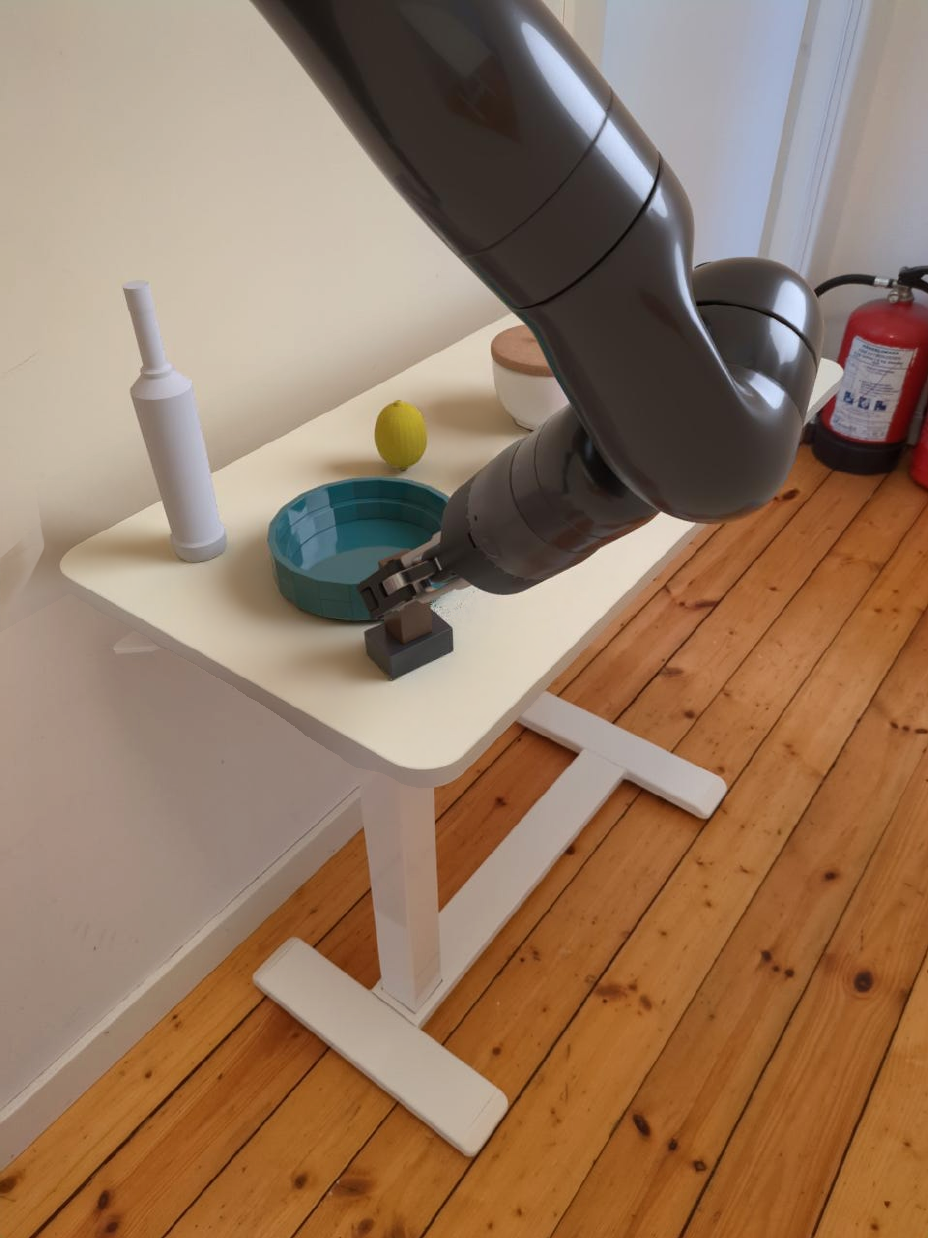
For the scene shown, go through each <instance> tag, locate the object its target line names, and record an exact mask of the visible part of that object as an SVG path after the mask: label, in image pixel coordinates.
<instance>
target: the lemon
mask: <svg viewBox="0 0 928 1238" xmlns="http://www.w3.org/2000/svg"><path fill="white" fill-rule="evenodd" d="M374 443H375V447H376V450H377V453H378V455H379V456H380V458H381V459H382V460H383V461H384V462H385V463H386V464H388V465H390V466H391V467H394V468H398V469H399V470H401V471H406V470H407V469H408V468H410V467H412V466H414V465H416V464H417V463H418V462H419V461H420V460H421V459H422V458H423V457H424V454H425V452H426V449H427V445H428V432H427V426H426V422H425V419H424V417H423V414H422V413H421V411H419V409H418V408H417V407H415V406H414V405H413V404H411V403H408V402H405V401H402V399H397V400H395V401H394V402H390V403H389V404H387V405H386V406H384V407H383V408H382V409H381V410H380V412H379V413H378V415H377V417H376V421H375V425H374Z"/></svg>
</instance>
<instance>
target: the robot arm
mask: <svg viewBox="0 0 928 1238" xmlns="http://www.w3.org/2000/svg"><path fill="white" fill-rule="evenodd" d="M248 1H249V2H250V3H251V4H252V6H253V7H254V9H256V11H257V12H258V13H259V14H260V16H261V17H262V18H263V19H264V20H265V22H266V24H268V26H269V27H270V28H271V30H272V31H273V32H274V33H275V34H276V36H277V37H278V38H279V39H280V41H281V42H282V43H283V44H284V46H285V47H286V49H287V50H288V51H289V53H290V54H291V55H292V56H293V58H294V59H295V60H296V62H297V63H298V64H299V66H300V67H301V68H302V69H303V71H304V72H305V74H306V75H307V76H308V77H309V79H310V80H311V81H312V82H313V84H314V85H315V87H316V88H317V89H318V91H319V92H320V93H321V95H322V96H323V98H324V99H325V100H326V102H327V103H328V104H329V105H330V107H331V108H332V110H333V111H334V112H335V114H336V115H337V117H338V118H339V119H340V121H341V122H342V123H343V125H344V126H345V128H346V129H347V131H348V132H349V133H350V135H351V136H352V137H353V138H354V139H355V141H356V142H357V144H358V145H359V146H360V148H361V149H362V150H363V152H364V153H365V154H366V156H367V157H368V158H369V160H370V161H371V162H372V164H374V166H375V167H376V168H377V170H378V171H379V172H380V173H381V174H382V176H383V177H384V179H385V180H386V181H387V182H388V183H389V185H390V186H391V187H392V188H393V189H394V191H395V192H396V193H397V195H399V196H400V198H401V199H402V200H403V201H404V202H405V203H406V204H407V206H408V208H410V209H411V211H413V212H414V214H415V215H416V216H417V217H418V218H419V219H420V221H422V223H424V224H425V226H426V227H427V228H428V229H429V230H430V231H431V232H432V233H433V234H434V235H435V236H436V237H437V239H439V240H440V241H441V243H443V244H444V245H445V246H446V248H448V250H450V252H451V253H452V254H453V255H455V256H456V258H457V259H458V260H460V261H461V262H462V264H463V265H465V267H466V268H467V269H468V270H469V271H470V272H471V273H472V274H473V275H474V276H476V278H477V279H478V280H479V281H481V283H483V285H484V286H486V288H487V289H488V290H489V291H490V292H491V293H492V294H493V295H494V296H495V297H496V298H497V299H498V300H499V301H500V302H501V303H502V304H503V305H505V306H506V308H507V309H508V310H509V311H510V312H511V313H512V314H513V315H515V316H516V317H517V318H518V319H519V320H520V321H521V322H522V323H523V325H524V324H525V325H526V326H527V327H528V328H529V330H530V331H531V332H532V334H533V336H534V338H535V339H536V341H537V343H538V345H539V347H540V349H541V351H542V353H543V355H544V357H545V359H546V361H547V363H548V365H549V367H550V369H551V371H552V373H553V375H554V377H555V379H556V381H557V382H558V384H559V386H560V387H561V389H562V390H563V392H564V394H565V395H566V397H567V399H568V401H569V404H568V405H566V406H565V407H563V408H562V409H561V410H559V411H558V412H556V413H555V414H554V415H552V416H551V417H550V418H549V419H548V420H546V421H545V422H544V423H543V424H542V425H540V426H539V427H538V428H537V429H535V430H532V432H530V433H529V434H527V435H526V436H524V437H522V438H520V439H518V440H516V441H515V442H512V444H509V446H506V448H504V449H503V450H502V451H500V452H499V453H498V454H497V455H496V456H494V457H493V458H492V459H491V460H490V461H489V462H487V463H486V464H485V465H484V466H483V467H481V468H480V469H479V470H478V471H477V472H475V473H474V474H473V475H472V476H471V477H470V478H468V480H466V481H465V482H463V483H462V484H461V485H460V486H459V487H458V488H457V489H456V490H455V491H454V492H452V494H451V495H450V496H449V497H450V499H449V501H448V502H447V504H446V507H445V509H444V512H443V517H442V524H441V531H439V532H437V533H436V534H434V535H433V537H432V540H431V541H429V542H427V543H425V544H424V545H422V546H420V547H418V548H416V549H414V550H413V551H411V552H409V553H407V554H405V555H403V556H402V557H401V558H400V559H397V560H395V559H392V560H390V561H388V562H387V564H386V565H384V566H383V567H382V568H380V569H379V570H377V571H376V572H375V573H373V574H372V575H371V576H369V577H368V578H367V579H365V580H363V581H361V582H360V584H359V585H357V586H356V588H357V590H358V592H359V593H360V595H361V597H362V599H363V601H364V604H365V606H366V608H367V610H368V612H369V616H370V618H371V620H370V621H374V620H377V621H379V620H382V619H381V618H383V617H385V616H387V615H390V614H392V613H393V612H395V611H396V610H397V611H401V610H403V609H404V606H406V605H408V604H410V603H412V602H414V601H416V600H417V601H418V602H420V603H422V604H424V603H427V602H430V601H432V600H434V601H436V600H438V599H440V598H441V597H443V596H445V595H447V594H449V593H451V592H453V591H455V590H457V591H461V590H464V589H466V588H469V587H471V586H473V587H474V588H476V589H478V590H480V591H483V592H486V593H488V594H493V595H497V596H498V595H499V596H510V595H517V594H520V593H522V592H525V591H527V590H529V589H531V588H534V587H535V586H537V585H539V584H541V583H543V582H545V581H548V580H549V579H551V578H553V577H556V576H557V575H559V574H561V573H564V572H566V571H567V570H570V569H571V568H573V567H575V566H578V565H579V564H581V563H582V562H585V561H586V560H588V559H589V558H590V557H592V556H593V555H594V554H595V553H597V552H598V551H599V550H600V549H602V548H603V547H606V546H608V545H609V544H611V543H613V542H615V541H618V540H619V539H622V538H623V537H625V536H627V535H629V534H631V533H633V532H635V531H637V530H638V529H640V528H642V527H643V526H645V525H648V524H649V523H650V522H651V521H653V520H654V519H655V518H656V517H657V516H658V515H659V514H660V513H663V514H665V515H667V516H670V517H672V518H675V519H677V520H681V521H684V522H688V523H695V524H702V525H723V524H729V523H733V522H737V521H741V520H744V519H747V518H749V517H750V516H753V515H754V514H756V513H757V512H759V511H761V510H763V509H764V508H765V507H766V506H767V505H769V504H770V503H771V502H772V501H773V500H774V499H775V498H776V497H777V496H778V494H779V493H780V492H781V490H782V489H783V487H784V486H785V483H786V482H787V480H788V478H789V476H790V473H791V472H792V469H793V467H794V464H795V460H796V457H797V453H798V449H799V446H800V442H801V438H802V432H803V429H804V426H805V421H806V417H807V413H808V411H809V410H808V409H809V406H810V402H811V398H812V395H813V390H814V386H815V383H816V379H817V376H818V373H819V368H820V364H821V360H822V355H823V351H824V344H825V320H824V319H825V318H824V314H823V310H822V306H821V303H820V301H819V298H818V296H817V294H816V292H815V290H814V289H813V288H812V286H811V285H810V284H809V283H808V281H806V279H804V278H803V276H801V275H800V274H799V273H798V272H797V271H795V270H794V269H792V268H790V267H789V266H787V265H786V264H783V263H781V262H778V261H776V260H773V259H769V258H764V257H757V256H756V257H755V256H736V257H728V258H722V259H718V260H713V262H712V261H709V262H710V263H707V264H705V265H702V266H700V267H697V268H695V267H694V268H695V269H694V268H693V265H694V264H693V261H694V250H695V234H696V233H695V230H696V228H695V216H694V210H693V207H692V203H691V201H690V198H689V196H688V194H687V192H686V190H685V188H684V186H683V185H682V182H681V181H680V180H679V177H678V176H677V174H676V173H675V171H674V170H673V169H672V167H671V166H670V164H669V163H668V162H667V160H666V159H665V157H664V156H663V154H662V153H661V152H660V151H659V150H658V149H657V147H656V145H655V144H654V143H653V141H652V140H651V139H650V137H649V135H648V134H647V132H645V130H644V129H643V128H642V126H641V125H640V124H639V122H638V121H637V120H636V118H635V117H634V116H633V115H632V113H631V112H630V111H629V109H628V107H626V105H625V103H624V102H623V101H622V100H621V98H620V97H619V96H618V95H617V93H616V92H615V91H614V89H613V88H612V86H611V85H610V84H609V83H608V81H607V80H606V78H605V77H604V76H603V74H602V73H601V72H600V71H599V69H598V68H597V66H596V65H595V64H594V63H593V61H592V60H591V59H590V58H589V57H588V55H587V53H586V52H585V51H584V50H583V48H581V46H580V45H579V44H578V42H577V41H576V40H575V38H574V37H573V36H572V35H571V34H570V32H569V31H568V30H567V29H566V27H564V25H563V24H562V23H561V22H560V20H559V19H558V18H557V17H556V15H555V14H554V13H553V12H552V10H551V9H550V8H549V7H548V6H547V4H546V3H545V2H544V1H543V0H248ZM428 577H429V579H428ZM429 580H430V581H431V582H433V583H435V584H440V583H447V584H445V585H443V586H441V587H439V588H437V589H435V588H434V587H432V585H431V583H430V581H429ZM448 582H449V583H448ZM439 597H440V598H439ZM437 598H438V599H437ZM435 599H436V600H435ZM432 602H433V601H432ZM430 603H431V602H430Z"/></svg>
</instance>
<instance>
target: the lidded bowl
mask: <svg viewBox="0 0 928 1238" xmlns="http://www.w3.org/2000/svg"><path fill="white" fill-rule="evenodd" d="M490 354H491V366H492V367H491V368H492V378H493V384H494V389H495V394H496V395H497V398H498V400H499V402H500V404H501V405H502V407H503V409H504V410H505V411H506V412H507V414H509V415H510V416H511V417H512V418H513V419H514V421H515V423H516V424H517V425H519V427H522V428H523V429H527V430H530V431H534V430H535V429H537V428H538V427H539V426H540V425H542V424H543V423H544V422H545V421H546V420H548V419H549V418H550V417H551V416H552V415H554V414H555V413H556V412H558V411H559V410H561V409H562V408H563V407H565V406H566V405H568V404H569V401H568V399H567V397H566V395H565V394H564V392H563V390H562V389H561V387H560V386H559V384H558V382H557V381H556V379H555V377H554V375H553V373H552V371H551V369H550V367H549V365H548V363H547V361H546V359H545V357H544V355H543V353H542V351H541V349H540V347H539V345H538V343H537V341H536V339H535V338H534V336H533V334H532V332H531V331H530V330H529V328H528V327H527V326H526V325H525V324H524V323H523V324H520V325H515V326H512V327H509V328H506V329H505V330H503V331H500V332H499V333H497V334H496V335H494V337H493V339H492V340H491V343H490Z"/></svg>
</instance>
